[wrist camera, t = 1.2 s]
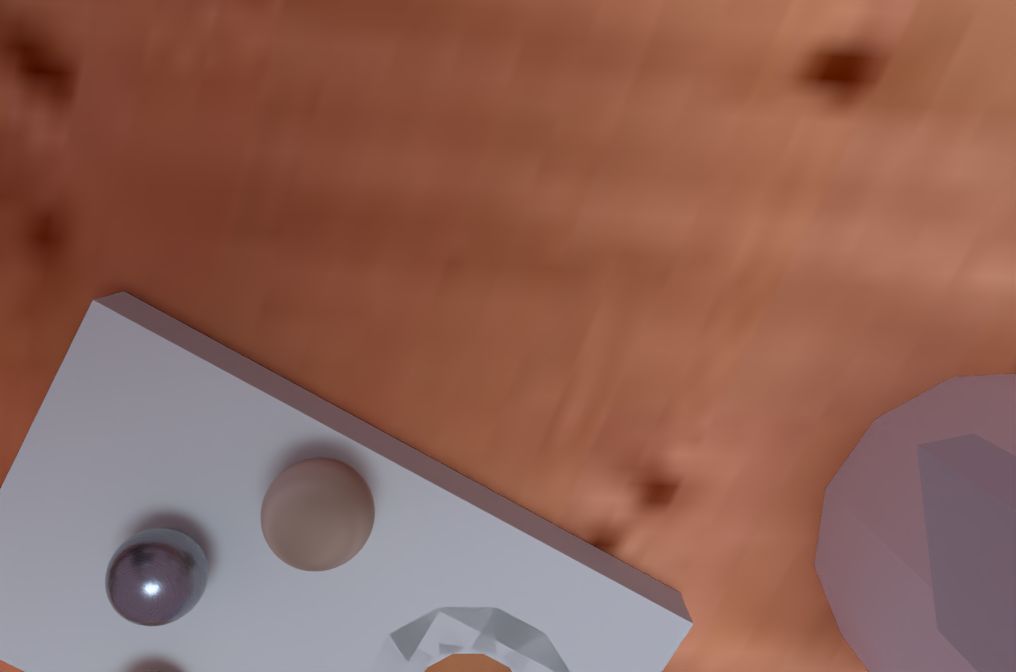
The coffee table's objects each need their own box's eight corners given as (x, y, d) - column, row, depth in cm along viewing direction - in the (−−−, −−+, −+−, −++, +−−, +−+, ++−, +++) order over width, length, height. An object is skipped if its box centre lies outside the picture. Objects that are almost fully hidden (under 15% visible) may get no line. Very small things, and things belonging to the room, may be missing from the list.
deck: (-27, 595, 35) (-67, 626, 32) (123, 291, 33) (92, 299, 30) (504, 859, 37) (504, 906, 35) (680, 593, 35) (693, 623, 33)
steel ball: (116, 570, 32) (69, 616, 29) (155, 496, 32) (112, 534, 28) (197, 611, 32) (160, 662, 29) (237, 539, 32) (204, 582, 28)
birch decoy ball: (259, 511, 32) (225, 557, 28) (307, 424, 31) (279, 459, 27) (351, 559, 32) (330, 612, 28) (401, 474, 31) (386, 516, 27)
